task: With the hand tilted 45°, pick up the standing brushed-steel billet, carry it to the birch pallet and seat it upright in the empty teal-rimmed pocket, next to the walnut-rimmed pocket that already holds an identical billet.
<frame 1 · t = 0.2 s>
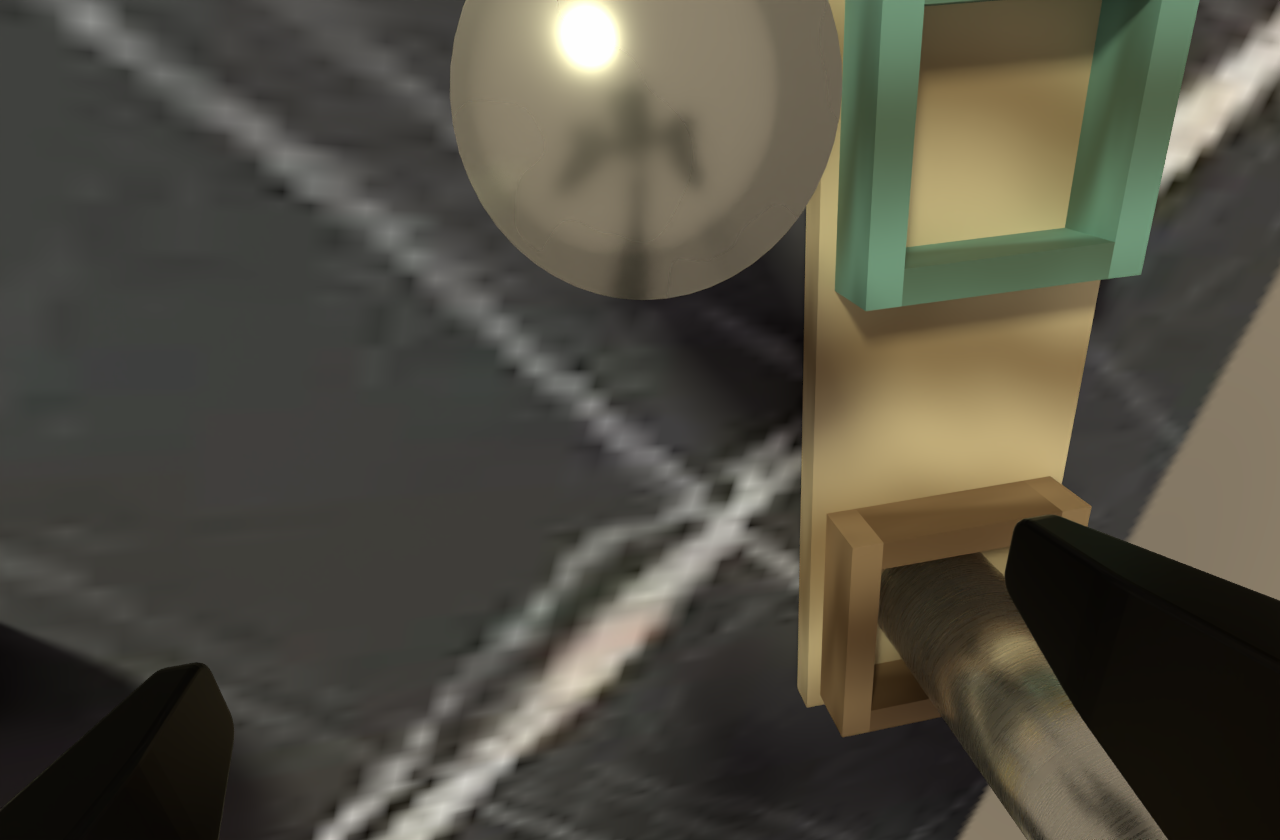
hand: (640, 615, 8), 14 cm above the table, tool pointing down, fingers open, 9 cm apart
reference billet: (929, 590, 27), point 1 cm above the table, touching pallet
billet: (561, 81, 19), on the table
pallet: (937, 358, 24), on the table
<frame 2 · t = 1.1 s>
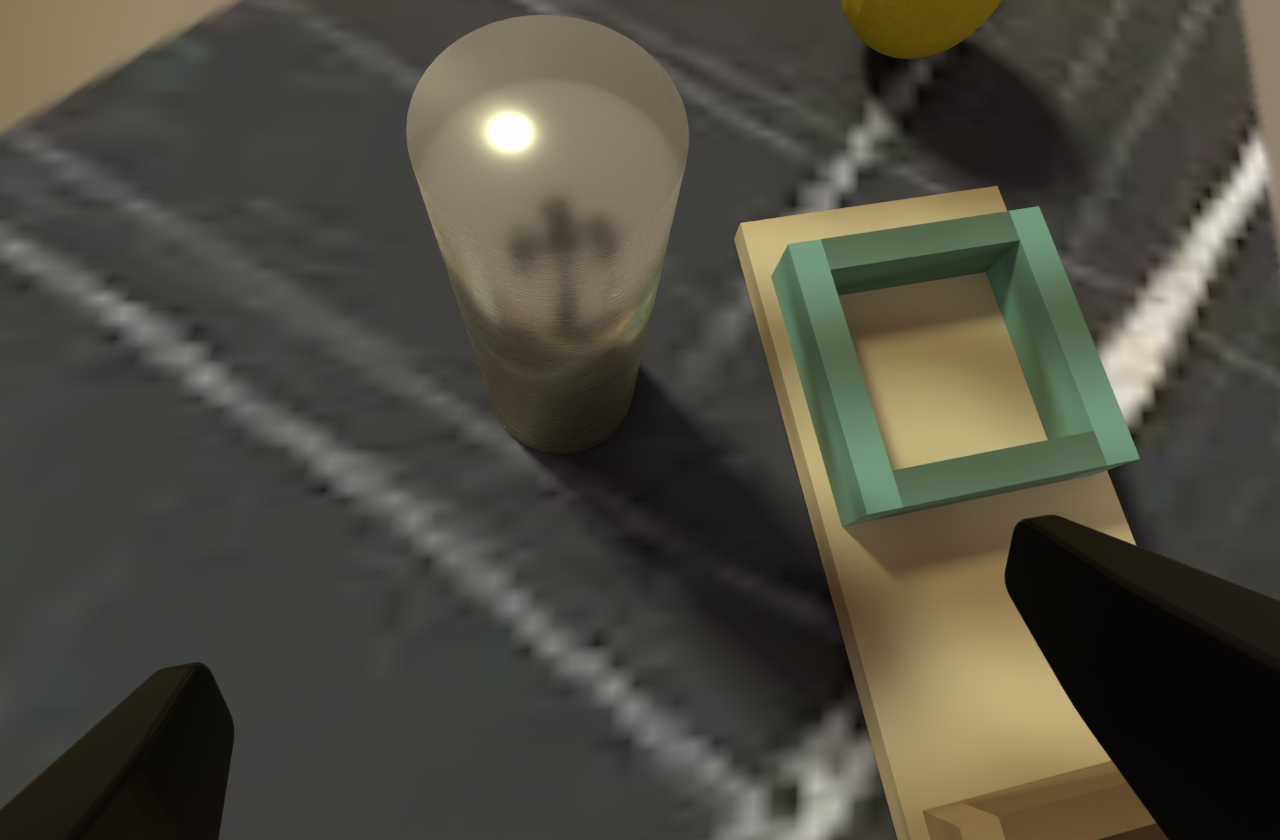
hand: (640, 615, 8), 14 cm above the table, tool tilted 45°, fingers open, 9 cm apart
lemon: (880, 48, 29), on the table
billet: (561, 384, 23), on the table
pallet: (986, 605, 23), on the table
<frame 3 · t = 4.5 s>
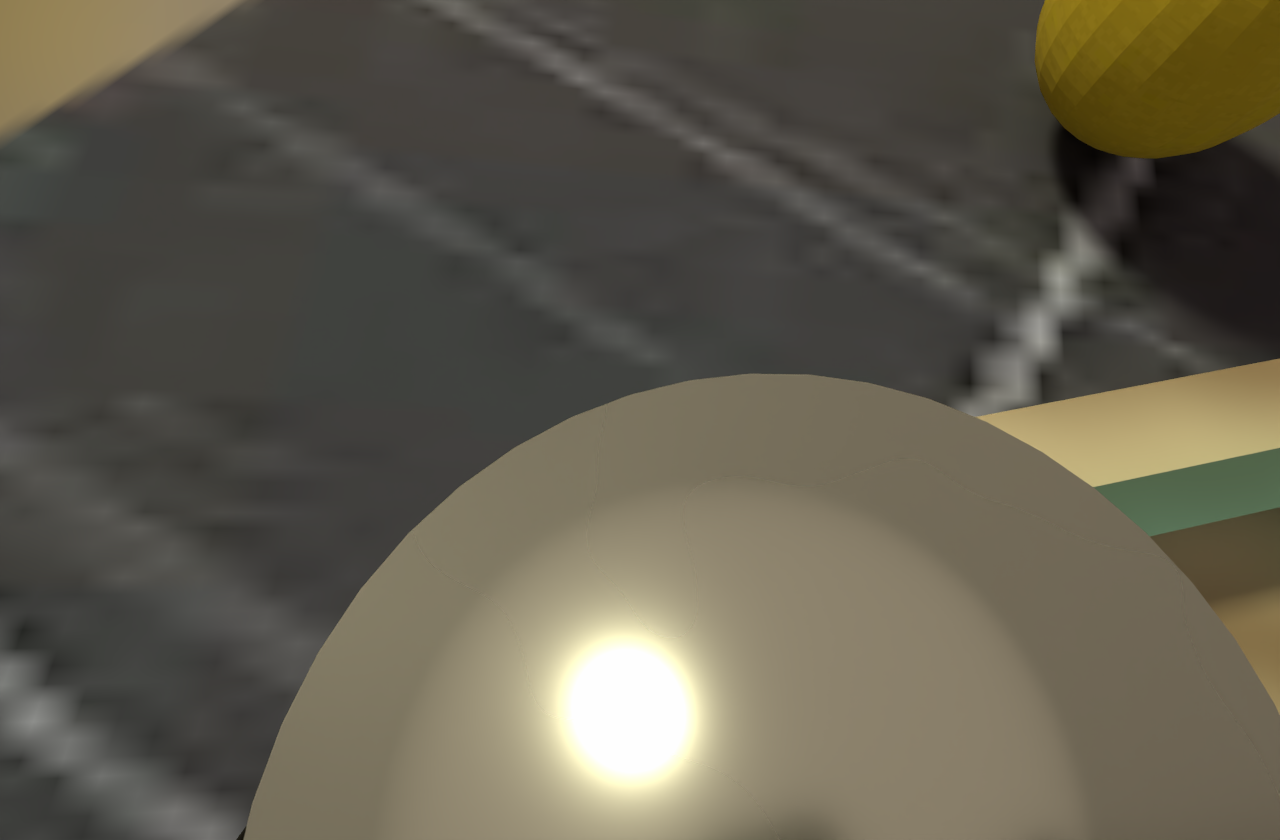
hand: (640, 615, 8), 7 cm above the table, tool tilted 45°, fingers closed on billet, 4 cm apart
lemon: (1073, 132, 20), on the table
billet: (624, 708, 14), on the table, touching gripper
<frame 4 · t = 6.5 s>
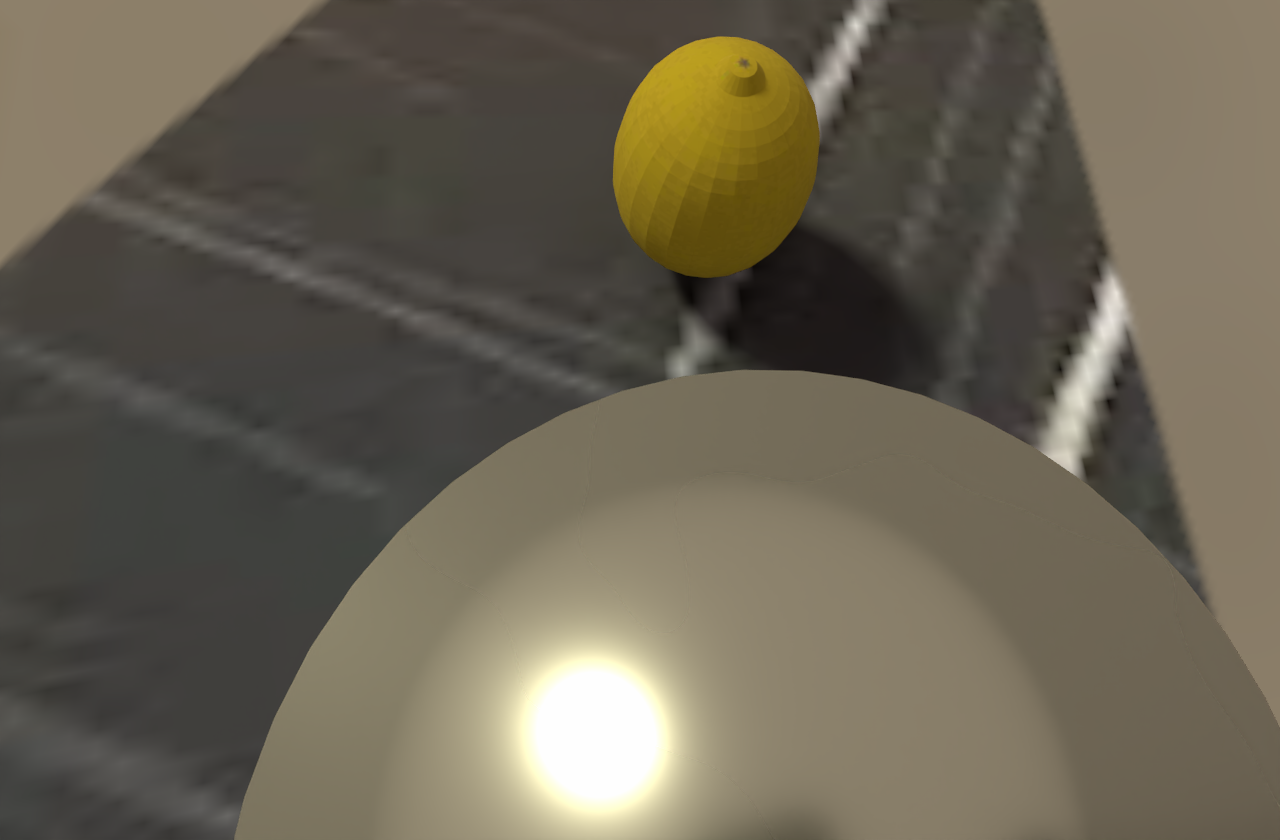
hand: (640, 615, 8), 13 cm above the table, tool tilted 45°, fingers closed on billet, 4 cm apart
lemon: (690, 244, 25), on the table
billet: (622, 707, 14), point 7 cm above the table, touching gripper
when the fingers open (9 cm above the table, at t = 8.3 s): billet drops 1 cm, resting on pallet.
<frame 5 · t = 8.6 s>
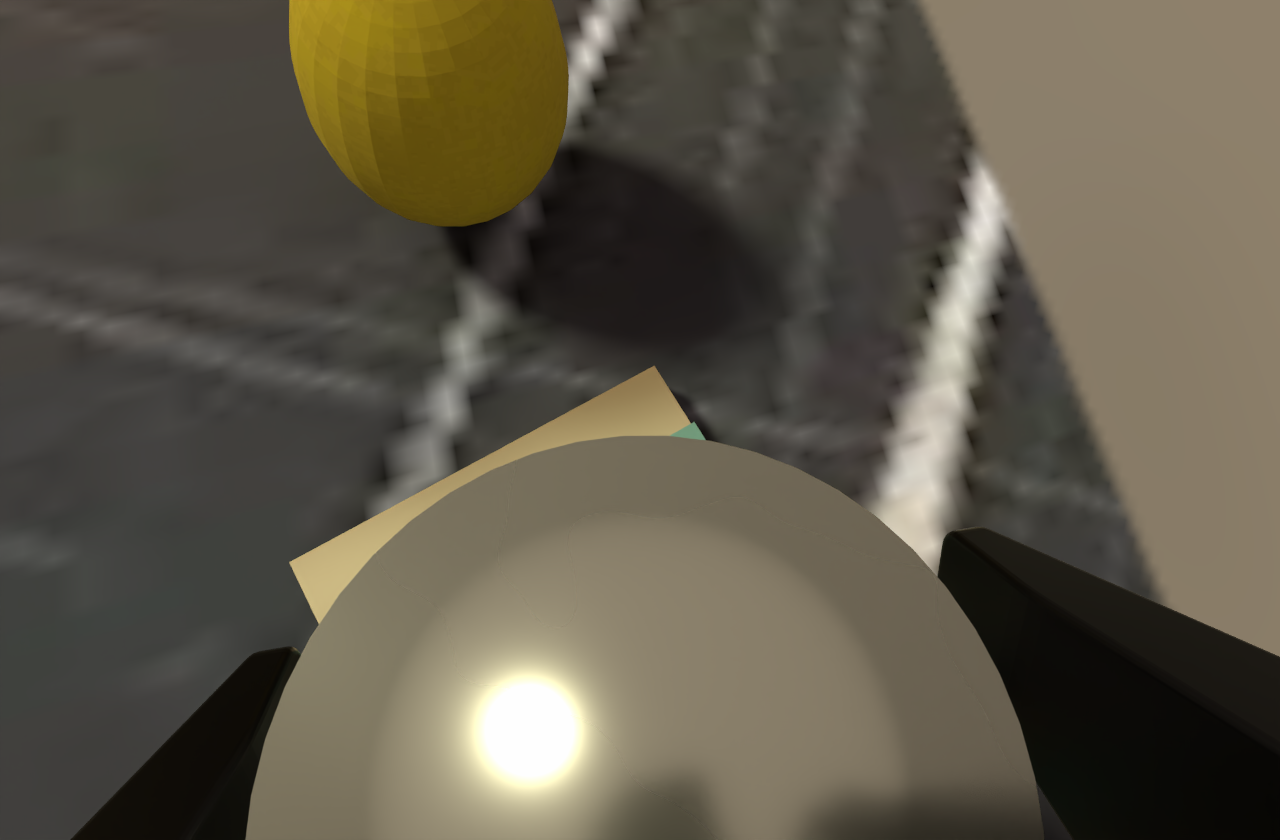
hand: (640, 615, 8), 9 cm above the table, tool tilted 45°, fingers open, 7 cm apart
lemon: (464, 193, 20), on the table
billet: (621, 709, 16), point 1 cm above the table, touching pallet
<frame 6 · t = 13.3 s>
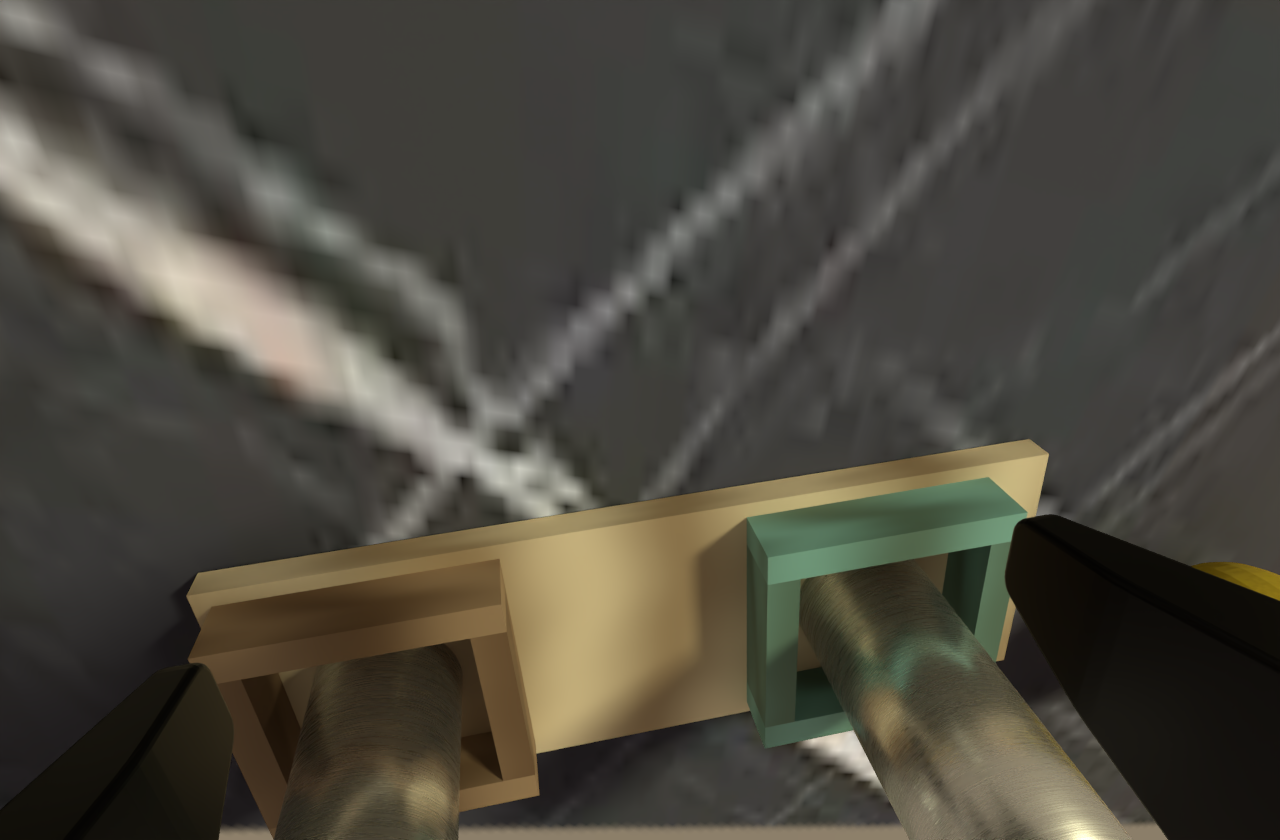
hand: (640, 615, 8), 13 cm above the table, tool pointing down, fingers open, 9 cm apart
lemon: (1156, 575, 30), on the table
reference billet: (389, 682, 24), point 1 cm above the table, touching pallet
billet: (858, 595, 26), point 1 cm above the table, touching pallet
pallet: (651, 611, 26), on the table
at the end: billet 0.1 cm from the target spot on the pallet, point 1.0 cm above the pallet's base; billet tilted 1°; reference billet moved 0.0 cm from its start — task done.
